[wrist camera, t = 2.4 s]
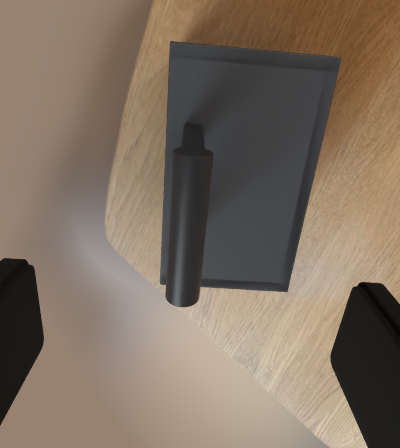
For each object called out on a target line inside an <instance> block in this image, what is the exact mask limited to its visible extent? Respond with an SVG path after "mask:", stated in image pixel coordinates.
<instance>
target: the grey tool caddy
mask: <svg viewBox="0 0 400 448" xmlns="http://www.w3.org/2000/svg"><path fill="white" fill-rule="evenodd" d="M340 63H341V57H332V56H322V55H311V54H301V53H290V52H280V51H269V50H258V49H248V48H237V47H227V46H216V45H206V44H195V43H185V42H174V41H171V42H170V55H169V80H168V104H167V128H166V152H165V176H164V199H163V223H162V247H161V271H160V284H161V285H166V299H167V301H168V302H169V303H170V304H172V305H174V306H178V307H189V306H192V305H194V304H196V303H197V301H198V300H199V294H200V287H211V288H228V289H245V290H261V291H278V292H288V288H289V283H290V278H291V274H292V270H293V265H294V261H295V257H296V252H297V248H298V244H299V239H300V235H301V231H302V227H303V222H304V218H305V214H306V209H307V205H308V201H309V196H310V192H311V188H312V183H313V179H314V175H315V170H316V166H317V162H318V157H319V153H320V149H321V144H322V140H323V136H324V131H325V127H326V123H327V118H328V114H329V110H330V105H331V101H332V97H333V93H334V88H335V84H336V80H337V75H338V71H339V67H340Z"/></svg>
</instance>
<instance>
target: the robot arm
mask: <svg viewBox="0 0 400 448" xmlns="http://www.w3.org/2000/svg"><path fill="white" fill-rule="evenodd" d="M43 342H44V336H43V327H42V320H41V313H40V305H39V298H38V291H37V284H36V276H35V270H34V267H33V266H32V265H29V264H28V262H27V261H26V260H25V259H10V258H4V259H2V260H1V261H0V425H1V423H2V421H3V419H4V418H5V416H6V414H7V412H8V410H9V408H10V407H11V405H12V403H13V401H14V399H15V397H16V395H17V394H18V392H19V390H20V388H21V386H22V384H23V382H24V381H25V379H26V377H27V375H28V373H29V371H30V370H31V368H32V366H33V364H34V362H35V360H36V359H37V357H38V355H39V353H40V351H41V349H42V346H43ZM331 365H332V368H333V370H334V372H335V374H336V377H337V379H338V381H339V383H340V386H341V388H342V390H343V392H344V395H345V397H346V399H347V401H348V404H349V406H350V408H351V410H352V413H353V415H354V417H355V419H356V422H357V424H358V426H359V429H360V431H361V433H362V435H363V438H364V440H365V442H366V444H367V447H368V448H400V304H399V303H398V302H397V300H396V299H395V298H394V297H393V296H392V294H391V293H390V292H389V291H388V290H387V288H386V287H385V286H384V285H383V284H381V283H369V282H361V283H359V284H358V286H357V287H356V286H355V287H353V288H352V290H351V293H350V296H349V299H348V302H347V305H346V308H345V312H344V315H343V318H342V321H341V324H340V327H339V330H338V333H337V336H336V339H335V342H334V345H333V349H332V352H331Z"/></svg>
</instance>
